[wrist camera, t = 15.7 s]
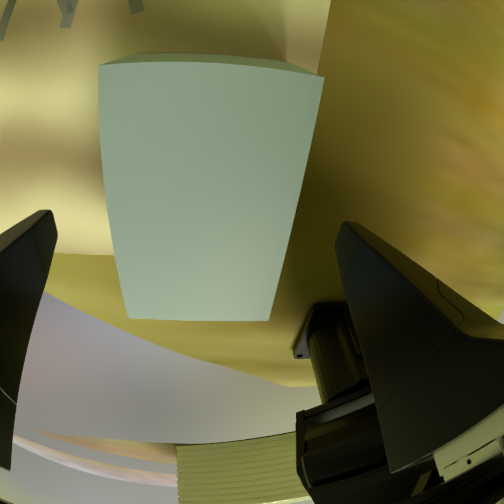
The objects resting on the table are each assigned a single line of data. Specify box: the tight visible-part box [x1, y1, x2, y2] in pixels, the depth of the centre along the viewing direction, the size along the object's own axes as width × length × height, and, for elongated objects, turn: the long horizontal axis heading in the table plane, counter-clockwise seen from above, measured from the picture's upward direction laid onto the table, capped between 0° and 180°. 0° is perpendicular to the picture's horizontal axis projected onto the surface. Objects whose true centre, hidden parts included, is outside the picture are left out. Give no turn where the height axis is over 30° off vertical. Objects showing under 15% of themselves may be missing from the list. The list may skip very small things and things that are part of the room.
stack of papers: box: [176, 431, 312, 504], centre depth 40 cm, size 32×11×11 cm, turn 99°
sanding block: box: [98, 52, 325, 321], centre depth 11 cm, size 9×6×4 cm, turn 173°
